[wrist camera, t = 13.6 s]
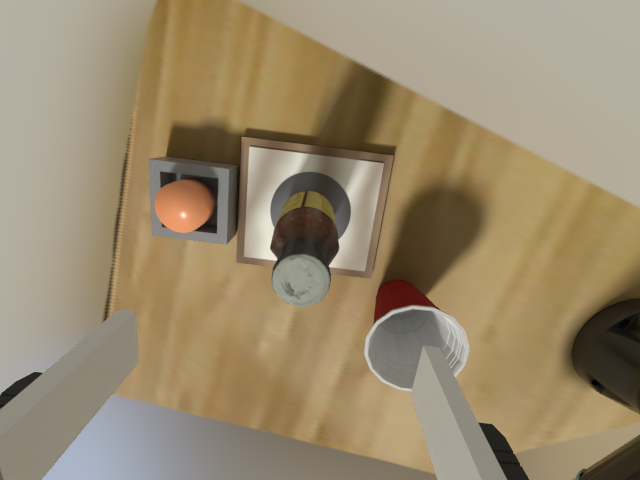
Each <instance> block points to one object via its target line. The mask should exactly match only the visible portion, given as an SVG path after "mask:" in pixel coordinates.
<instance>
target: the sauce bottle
mask: <svg viewBox="0 0 640 480" xmlns="http://www.w3.org/2000/svg"><path fill="white" fill-rule="evenodd" d="M270 250H271V251H272V252H273V254H274V255H275V256H276V258H277V261H276V262H275V264H274V267H273V273H272V284H273V288H274V291H275V293H276V294H277V295H278V296H279V297H280V298H281V299H282V300H284V301H285V302H286V303H289V304H291V305H293V306H299V307H306V306H310V305H313V304H315V303H317V302H318V301H320V300H322V298H323V297H324V296H325V295H326V293H327V292H328V290H329V287H330V282H331V273H330V267H329V265H330V264H331V262H332V261H333V259H334V258H335V256H336V255H337V253H338V251H339V242H338V231H337V227H336V222H335V216H334V211H333V207H332V205H331V204H330V202H329V201H328V200H327V199H326V197H325V196H324V195H321V194H319V193H317V192H314V191H309V190H304V191H300V192H298V193H296V194H295V195H293V196H292V197H290V198H289V199H288V200H287V202H286V203H285V205H284V207H283V210H282V212H281V214H280V217H279V219H278V221H277V223H276V226H275V228H274V232H273V236H272V241H271V246H270Z"/></svg>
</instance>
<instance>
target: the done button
mask: <svg viewBox="0 0 640 480" xmlns="http://www.w3.org/2000/svg"><path fill="white" fill-rule="evenodd" d="M154 206H155V212H156V214H157V216H158V218H159V220H160V221H161V222H162V223H163V224H164V225H165V226H166V227H167V228H169V229H170V230H173V231H175V232H180V233H188V232H191V231H194V230H196V229H197V228H199V227H200V226H201V225H203V224H204V223H205V222H207V221H208V220H209V219H210V218H211V217H212V216H213V214H214V212H215V209H216V199H215V195H214V193H213V191H212V190H211V189H210V187H209V186H208V185H207V184H205V183H204V182H202V181H200V180H198V179H194V178H185V179H181V180H178V181H175V182H172V183H169V184H167V185H165V186H163V187H162V188H161V189H160V190H159V191H158V193H157V195H156V197H155V202H154Z"/></svg>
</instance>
